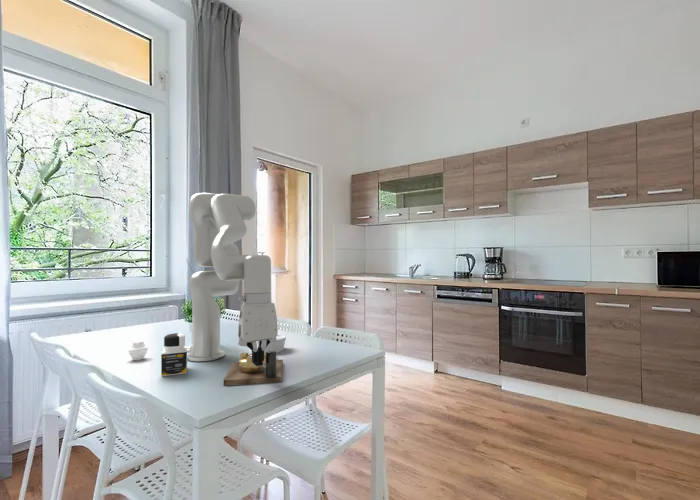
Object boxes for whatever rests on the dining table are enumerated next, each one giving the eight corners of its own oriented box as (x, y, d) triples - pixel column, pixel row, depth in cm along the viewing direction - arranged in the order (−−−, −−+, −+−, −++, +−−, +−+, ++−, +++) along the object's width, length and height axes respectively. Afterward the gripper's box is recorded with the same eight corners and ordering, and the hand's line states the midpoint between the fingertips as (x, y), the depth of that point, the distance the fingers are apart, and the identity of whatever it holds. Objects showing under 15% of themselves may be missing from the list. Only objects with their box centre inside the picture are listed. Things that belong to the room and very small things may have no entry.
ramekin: (288, 347, 145) (288, 334, 145) (282, 354, 134) (282, 340, 134) (261, 347, 145) (261, 334, 145) (252, 354, 134) (252, 340, 134)
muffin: (126, 359, 129) (126, 340, 129) (145, 356, 133) (145, 337, 133) (131, 362, 125) (131, 342, 125) (150, 359, 129) (150, 339, 129)
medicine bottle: (161, 376, 109) (161, 337, 110) (163, 370, 116) (163, 333, 116) (186, 373, 112) (186, 335, 112) (187, 367, 119) (187, 331, 119)
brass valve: (234, 367, 112) (234, 343, 113) (264, 361, 118) (264, 339, 118) (256, 383, 97) (256, 356, 97) (289, 376, 103) (289, 350, 103)
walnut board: (223, 385, 101) (223, 380, 101) (234, 366, 119) (234, 362, 119) (280, 381, 103) (280, 376, 104) (282, 363, 121) (282, 359, 121)
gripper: (235, 302, 93) (235, 373, 92) (287, 298, 101) (288, 363, 101) (226, 299, 99) (226, 366, 98) (277, 296, 108) (277, 357, 107)
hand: (257, 364), depth 100 cm, fingers closed
